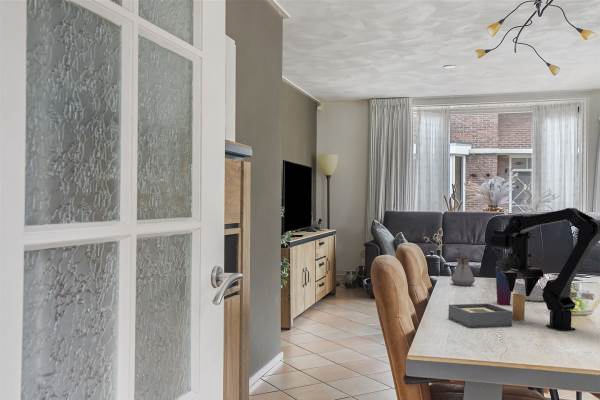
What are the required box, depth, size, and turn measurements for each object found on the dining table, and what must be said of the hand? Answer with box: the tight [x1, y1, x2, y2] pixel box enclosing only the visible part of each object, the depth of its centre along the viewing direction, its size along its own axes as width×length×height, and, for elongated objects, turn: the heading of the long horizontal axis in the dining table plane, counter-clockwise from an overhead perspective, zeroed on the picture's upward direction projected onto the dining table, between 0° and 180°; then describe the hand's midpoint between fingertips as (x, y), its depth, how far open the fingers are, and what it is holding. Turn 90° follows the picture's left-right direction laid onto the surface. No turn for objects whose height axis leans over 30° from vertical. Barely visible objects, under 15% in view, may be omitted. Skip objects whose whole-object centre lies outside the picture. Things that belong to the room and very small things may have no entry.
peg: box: [512, 292, 526, 322], centre depth 190 cm, size 4×4×9 cm
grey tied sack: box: [450, 257, 475, 287], centre depth 262 cm, size 21×12×15 cm, turn 161°
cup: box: [495, 266, 512, 306], centre depth 218 cm, size 7×7×15 cm
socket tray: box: [447, 303, 513, 329], centre depth 184 cm, size 14×16×5 cm
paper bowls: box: [513, 278, 545, 302], centre depth 231 cm, size 15×15×8 cm
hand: (519, 293), depth 190 cm, fingers open, 9 cm apart
